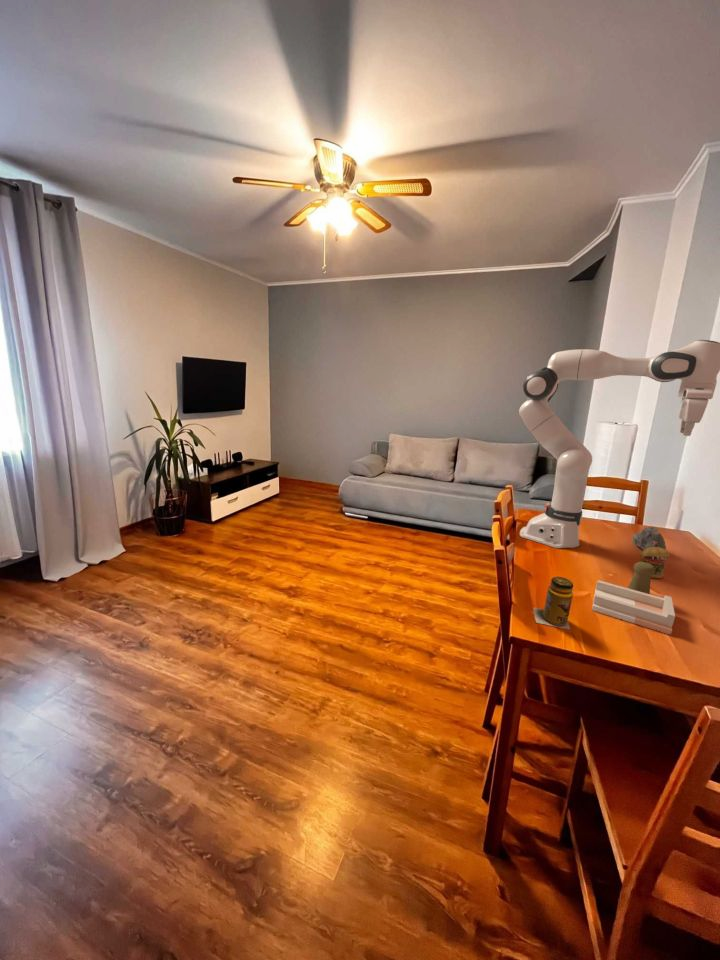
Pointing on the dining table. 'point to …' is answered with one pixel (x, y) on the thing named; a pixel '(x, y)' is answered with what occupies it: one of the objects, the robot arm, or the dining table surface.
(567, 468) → the robot arm
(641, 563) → the cork
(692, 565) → the dining table surface
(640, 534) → the mineral rock
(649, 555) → the hamburger
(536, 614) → the condiment
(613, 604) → the white tray
